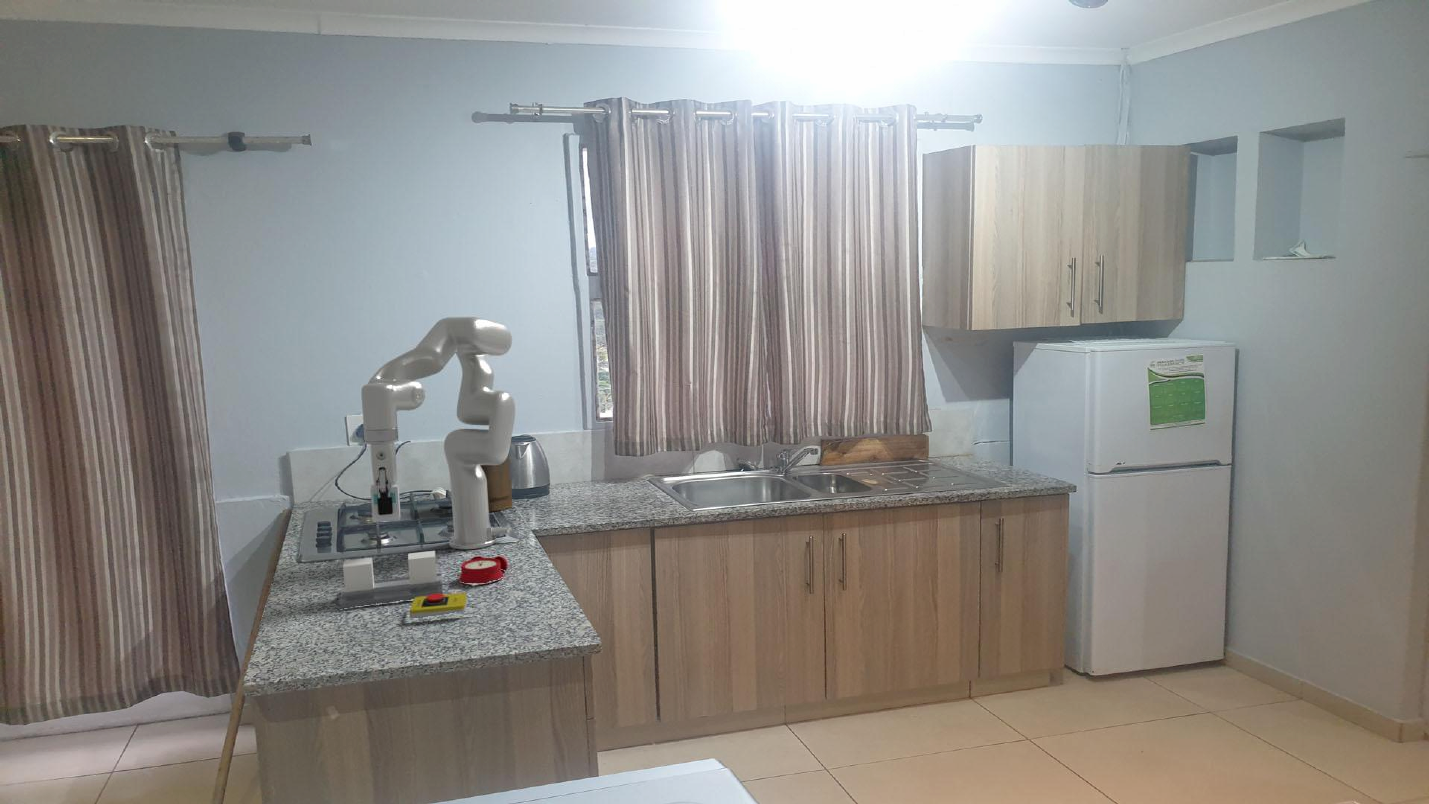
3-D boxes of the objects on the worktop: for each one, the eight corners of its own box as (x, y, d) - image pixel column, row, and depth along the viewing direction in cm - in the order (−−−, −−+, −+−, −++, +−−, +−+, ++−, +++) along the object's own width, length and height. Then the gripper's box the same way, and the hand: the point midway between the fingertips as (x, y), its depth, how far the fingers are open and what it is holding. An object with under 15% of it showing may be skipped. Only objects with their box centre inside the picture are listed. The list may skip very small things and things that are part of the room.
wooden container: (497, 499, 315) (492, 432, 312) (521, 506, 304) (517, 437, 301) (455, 507, 305) (450, 439, 302) (479, 515, 294) (474, 444, 291)
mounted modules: (436, 575, 229) (434, 550, 228) (437, 581, 224) (435, 556, 223) (346, 585, 223) (344, 560, 222) (345, 592, 218) (343, 566, 217)
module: (400, 515, 232) (398, 482, 231) (399, 520, 227) (397, 487, 226) (374, 517, 231) (371, 484, 230) (372, 522, 226) (370, 489, 225)
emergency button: (406, 592, 213) (476, 586, 216) (408, 611, 214) (478, 604, 216) (401, 606, 204) (474, 599, 207) (402, 626, 205) (475, 619, 207)
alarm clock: (450, 573, 227) (470, 541, 241) (454, 596, 229) (474, 563, 243) (493, 573, 226) (511, 541, 240) (496, 596, 228) (514, 563, 242)
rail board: (441, 579, 234) (440, 569, 233) (442, 597, 220) (442, 586, 220) (344, 590, 227) (343, 580, 227) (340, 610, 214) (339, 599, 214)
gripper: (396, 440, 219) (401, 518, 221) (399, 429, 236) (404, 502, 238) (361, 442, 217) (367, 521, 219) (367, 431, 234) (372, 505, 236)
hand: (386, 510), depth 229 cm, fingers closed on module, 5 cm apart
